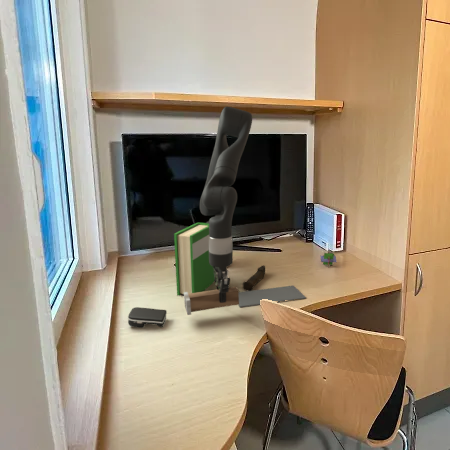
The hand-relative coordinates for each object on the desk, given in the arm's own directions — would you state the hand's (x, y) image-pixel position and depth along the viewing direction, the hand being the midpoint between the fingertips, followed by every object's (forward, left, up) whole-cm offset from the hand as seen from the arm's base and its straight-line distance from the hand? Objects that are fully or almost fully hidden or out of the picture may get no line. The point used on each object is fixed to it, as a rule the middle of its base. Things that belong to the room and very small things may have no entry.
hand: (221, 299), depth 119 cm
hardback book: (-25, -4, -6) cm, 26 cm away
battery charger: (0, -18, -5) cm, 19 cm away
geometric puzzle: (-32, +57, -7) cm, 66 cm away
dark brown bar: (-24, +20, -7) cm, 32 cm away
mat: (-10, +20, -6) cm, 23 cm away
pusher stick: (0, -3, -2) cm, 3 cm away
